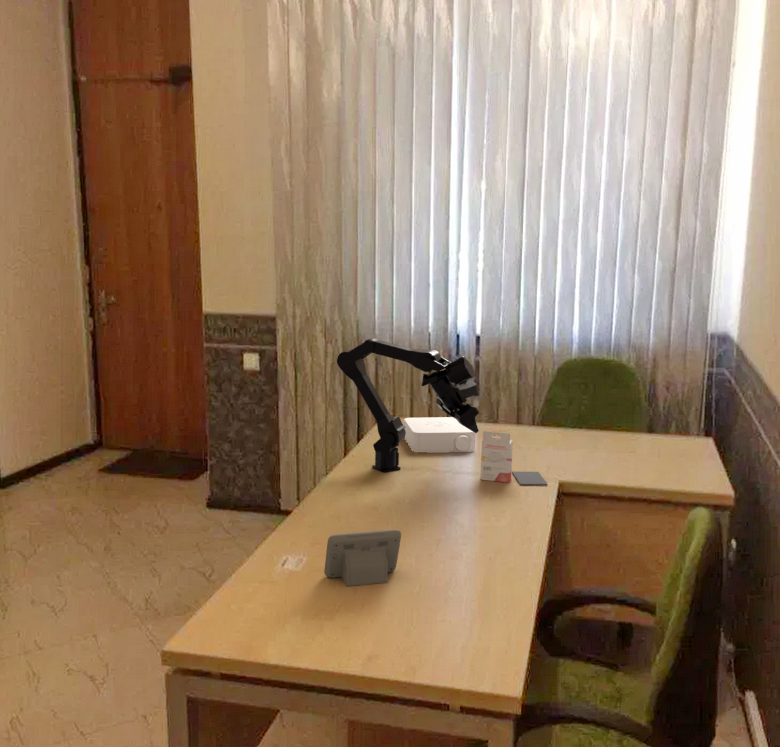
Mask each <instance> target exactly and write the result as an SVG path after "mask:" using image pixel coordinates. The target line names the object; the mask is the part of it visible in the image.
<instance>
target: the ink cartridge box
mask: <svg viewBox="0 0 780 747" xmlns="http://www.w3.org/2000/svg"><path fill="white" fill-rule="evenodd" d="M495 436H497V437H499V438H497V437H496V438H493V437H495ZM513 443H514V441H513V439H511V434H510V433H507V432H506V433H505V432H500V431H499V432H495V431H488V430H487V431H486V430H484V431H483V432H482V441H481V459H480V460H481V462H480V480H482V481H490V482H491V481H492V482H500V483H510V481H511V479H512V471H513V470H512V469H513V468H512V467H513V466H512V464H513Z"/></svg>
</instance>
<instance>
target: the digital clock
mask: <svg viewBox="0 0 780 747" xmlns="http://www.w3.org/2000/svg"><path fill="white" fill-rule="evenodd" d="M401 538H402V533H401V530H397V529H382V530H367V531H358V532H347V533H346V532H345V533H335V534H331V535H330V536H329V537H328V539H327V542H326V543H327V545H326V551H325V552H326V553H325V561H324V568H323V569H324V570H323V572H324V575H325V576H326V577H327V578H332V579H334V578H341V579H342V581H343V582H344V584H345V586H346V587H355V586H356V587H357V586H363V585H364V586H365V585H375V584H384V583H385V584H386V583H388V573H391V572H394V571H395V570H396V568H397V564H398V558H399V551H400V546H401V540H402V539H401Z"/></svg>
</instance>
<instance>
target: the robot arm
mask: <svg viewBox="0 0 780 747" xmlns="http://www.w3.org/2000/svg"><path fill="white" fill-rule="evenodd" d="M371 354H376V355H379V356H383V357H387V358H390V359H394V360H398V361H401V362H405V363H407V364H410V366H413V367H414V368H415V369H418V370H420V371H422V372H424V373H423V374H422V379H421V387H425V386H427V385H429V386H430V387H431V389H432V390H433V391H434V393H435V397H436V401H435V403H436V405H437V406H438V408H439V409H441V410H442V412H444V413H445V414H447V415H449V417H453V418H455V419H456V420H457V421H458V422H459V423H460V424H461V425H463V426H465V427H466V428H468V429H470V430H471V431H473V432H475V434H477V433H479V428H478V424H477V420H476V417H477V416H478V415H479V414H480V411H479V410H478V408H477V407H476V406H475V405H474V404H472V403H466V402H467V401H468V400H467V399H468V398H470V397H474V396H478V395H479V389H478V384H477V383H476V382H475V381H473V380H471V379H473V378H475V370H474V368H473V365H472V364H471V363H470V361H469V360H468V359H466V356H465V355H462V356H461V357H460V356H459V358H457V359H456V360H452V361H450V360H448V359H446V358H444V357H443V356H441V354H440V352H439V351H437V350H436V349H435V350H434V349H430V348H429V349H428V348H427V349H425V348H411V347H407V346H403V345H399V344H395V343H391V342H388V341H384V340H380V339H377V338H375V337H372V338H368V339H365V341H363V342H362V343H361V344H359V345H358V346H356V347H354V348H351V349H347V350H344V351H341V352H340V353H339V354H338V355H337V358H336V364H337V366H338V368H339V369H340V370H341V371H342V373H343V374H344V375H345V377H347V378H348V379H350V380H351V381H352V382H353V384H354V385H355V387H356V389H357V391H358V392H359V394H360V395H361V397H362V399H363V401H364V403H365V404H366V406H367V408H368V410H369V411H370V413H371V415H372V416H373V419H374V420H375V422H376V426H377V433H378V435H379V439H378V440H377V441H375V442H374V443H373V445H372V446H373V449H374V451H375V455H374V457H375V458H374V464H372V465H371V467H372V468H373V469H376V470H378V471H379V472H382V473H386V472H391V471H398V470H401V468H402V467H401V466H399V465H400V464H399V463H400V461H399V458H400V453H399V448H398V447H399V446H400V443H401V442H402V441H405V439H404V438H405V434H406V431H405V429H404V428H405V426H404V424H403V422H402V419H401V417H400V416H399V415H397V416H396V417H394V415H391V414H390V412H389V410H388V409H387V407H386V405H385V404H384V401H383V399H382V398H381V397H380V395H379V393H378V391H377V389H376V388H375V386H374V384H373V382H372V381H371V378H370V377H369V375H368V374H367V370H366V369H367V368H366V363H365V360H364V359H366V358H367V357H369V356H370V355H371ZM432 371H433V372H432ZM430 372H431V373H430ZM427 373H428V374H427ZM454 384H455V385H454ZM464 403H466V404H464Z"/></svg>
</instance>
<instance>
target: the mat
mask: <svg viewBox="0 0 780 747" xmlns="http://www.w3.org/2000/svg"><path fill="white" fill-rule="evenodd" d="M511 475H513V478H515V480H516V482H517V483H518V484H520V485H519V486H533V485H547V486H548V482H547V481H546V480H545V478H544V477H543V476H542V474H541V473H540V472H539V471H515V470H514V471H513V470H512V471H511Z"/></svg>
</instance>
